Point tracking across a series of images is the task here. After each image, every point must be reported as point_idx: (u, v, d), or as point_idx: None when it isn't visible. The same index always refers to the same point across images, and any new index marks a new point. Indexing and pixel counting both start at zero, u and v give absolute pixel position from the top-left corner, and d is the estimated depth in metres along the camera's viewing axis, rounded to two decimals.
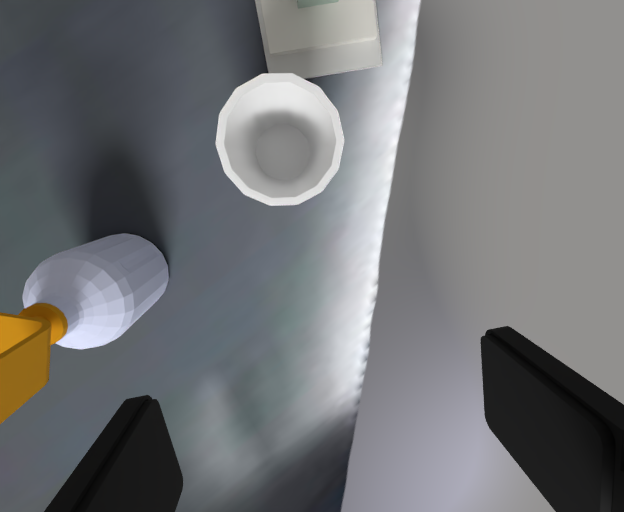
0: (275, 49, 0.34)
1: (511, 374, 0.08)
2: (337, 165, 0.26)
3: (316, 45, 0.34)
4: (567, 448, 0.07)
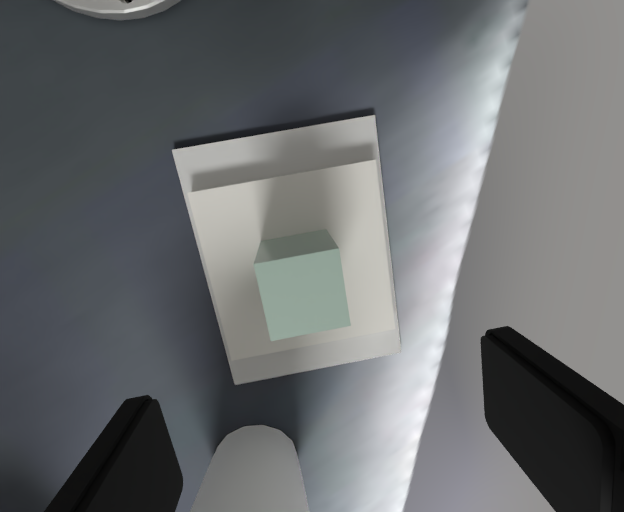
0: (239, 354, 0.22)
1: (511, 374, 0.08)
2: None
3: (303, 346, 0.22)
4: (567, 448, 0.07)
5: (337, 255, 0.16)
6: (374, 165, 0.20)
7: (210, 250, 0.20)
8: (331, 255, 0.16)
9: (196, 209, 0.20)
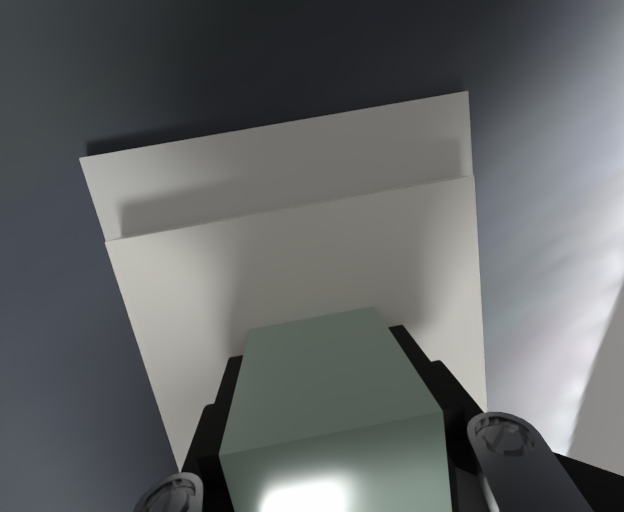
0: None
1: None
2: None
3: None
4: None
5: (438, 428, 0.06)
6: (470, 186, 0.10)
7: (154, 347, 0.11)
8: (421, 428, 0.06)
9: (124, 272, 0.10)
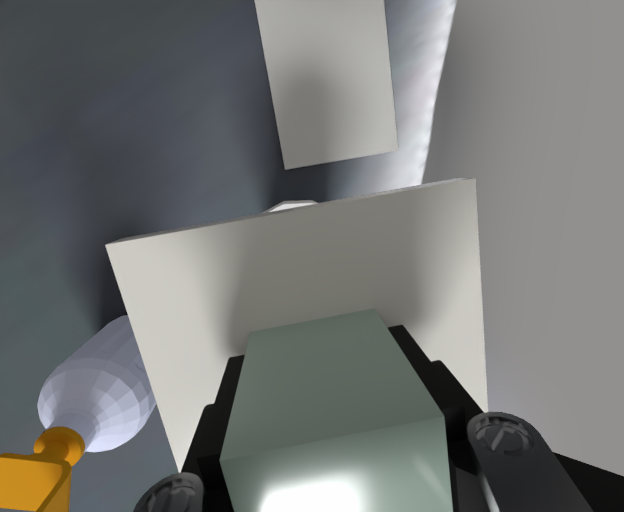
0: None
1: None
2: None
3: None
4: None
5: (439, 433, 0.06)
6: (471, 189, 0.10)
7: (155, 350, 0.11)
8: (423, 433, 0.06)
9: (125, 275, 0.10)
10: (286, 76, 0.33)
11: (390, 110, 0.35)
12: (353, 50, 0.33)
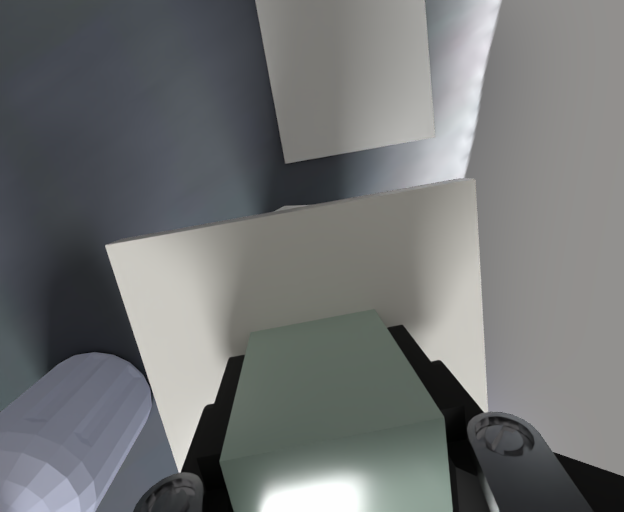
0: None
1: None
2: None
3: None
4: None
5: (439, 434, 0.06)
6: (471, 189, 0.10)
7: (155, 351, 0.11)
8: (423, 434, 0.06)
9: (125, 275, 0.10)
10: (286, 36, 0.24)
11: (425, 83, 0.26)
12: (377, 0, 0.24)
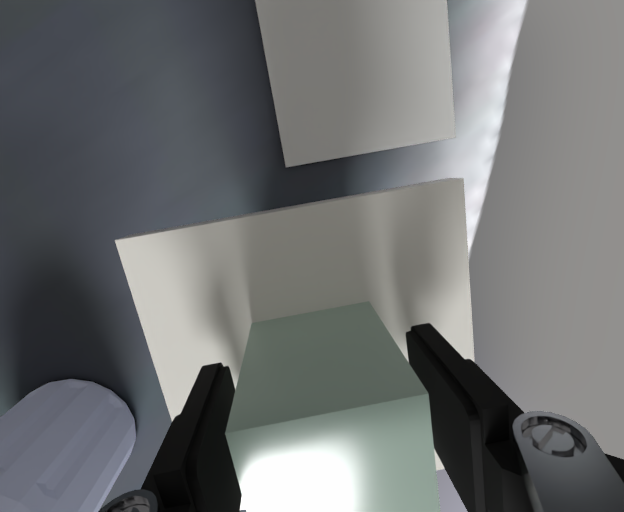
0: None
1: (423, 365, 0.09)
2: None
3: None
4: (454, 428, 0.08)
5: (424, 409, 0.07)
6: (459, 188, 0.11)
7: (161, 340, 0.11)
8: (409, 409, 0.07)
9: (133, 269, 0.11)
10: (286, 22, 0.21)
11: (445, 76, 0.23)
12: None
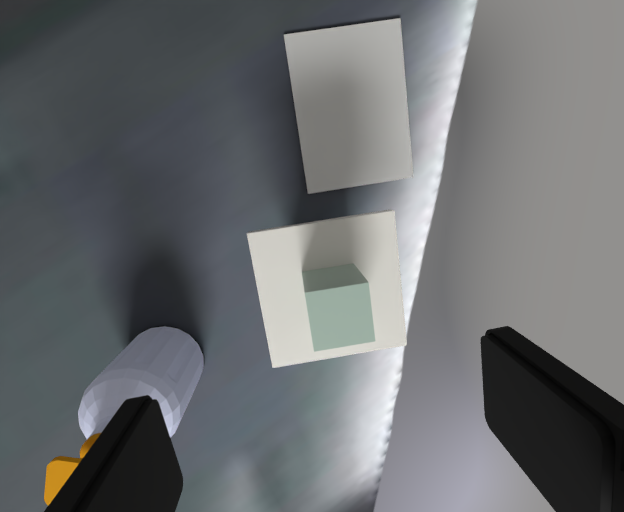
0: (279, 363, 0.27)
1: (511, 374, 0.08)
2: None
3: (331, 357, 0.27)
4: (567, 448, 0.07)
5: (367, 287, 0.21)
6: (393, 214, 0.25)
7: (261, 278, 0.26)
8: (362, 287, 0.21)
9: (253, 245, 0.25)
10: (311, 109, 0.36)
11: (406, 140, 0.37)
12: (373, 86, 0.36)
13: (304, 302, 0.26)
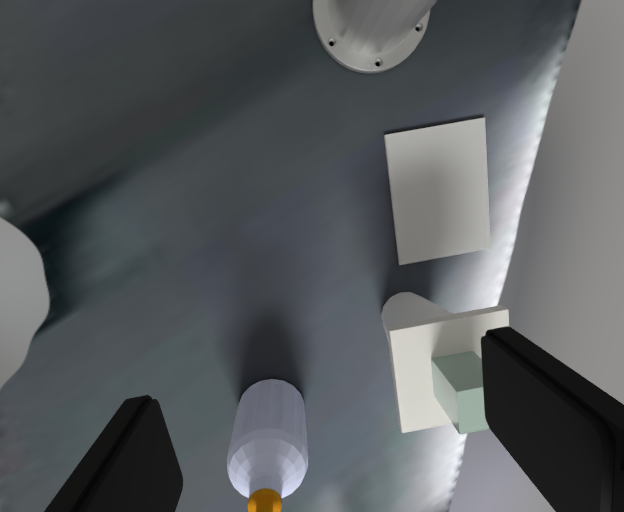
0: (407, 429, 0.33)
1: (511, 374, 0.08)
2: None
3: (449, 423, 0.33)
4: (567, 448, 0.07)
5: None
6: (506, 312, 0.31)
7: (398, 364, 0.32)
8: None
9: (394, 340, 0.31)
10: (405, 195, 0.42)
11: (486, 218, 0.43)
12: (459, 174, 0.41)
13: (431, 382, 0.32)
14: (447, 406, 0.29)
